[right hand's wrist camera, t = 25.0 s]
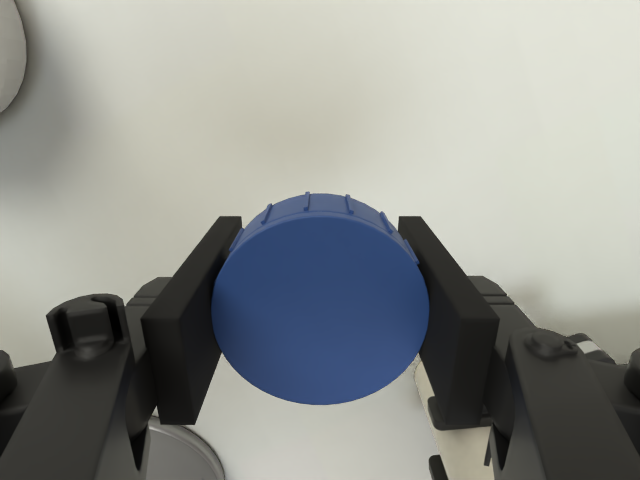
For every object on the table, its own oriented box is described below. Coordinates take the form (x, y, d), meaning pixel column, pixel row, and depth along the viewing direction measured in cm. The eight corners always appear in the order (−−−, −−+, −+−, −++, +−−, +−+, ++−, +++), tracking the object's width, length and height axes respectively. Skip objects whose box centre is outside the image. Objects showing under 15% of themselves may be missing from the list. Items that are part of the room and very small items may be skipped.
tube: (404, 366, 32) (508, 700, 14) (456, 340, 31) (635, 661, 14) (430, 405, 33) (553, 750, 16) (481, 381, 32) (671, 718, 15)
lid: (431, 332, 13) (451, 377, 11) (266, 376, 13) (257, 426, 11) (386, 164, 11) (401, 181, 9) (196, 226, 11) (170, 255, 9)
